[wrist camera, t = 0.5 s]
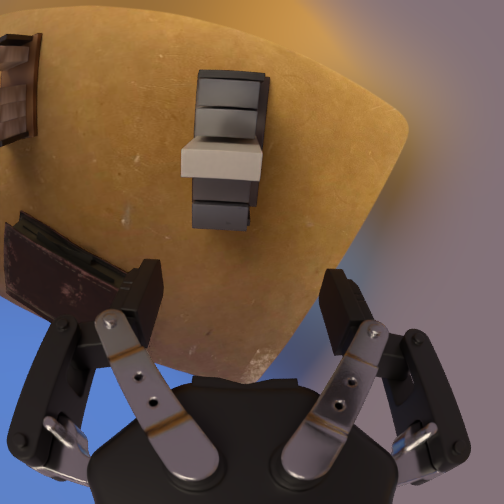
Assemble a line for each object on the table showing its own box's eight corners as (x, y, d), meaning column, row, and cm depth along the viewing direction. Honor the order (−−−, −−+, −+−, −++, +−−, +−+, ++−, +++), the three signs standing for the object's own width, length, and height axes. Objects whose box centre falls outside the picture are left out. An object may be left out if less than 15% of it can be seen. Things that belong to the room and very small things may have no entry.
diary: (117, 339, 49) (110, 359, 44) (17, 281, 41) (5, 296, 37) (146, 276, 41) (136, 297, 36) (22, 205, 33) (4, 218, 29)
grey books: (199, 73, 27) (180, 63, 18) (269, 78, 27) (281, 68, 18) (193, 200, 35) (176, 239, 26) (255, 204, 35) (261, 245, 27)
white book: (202, 130, 29) (181, 149, 19) (255, 133, 30) (262, 153, 20) (201, 149, 31) (180, 177, 20) (253, 152, 31) (259, 181, 21)
